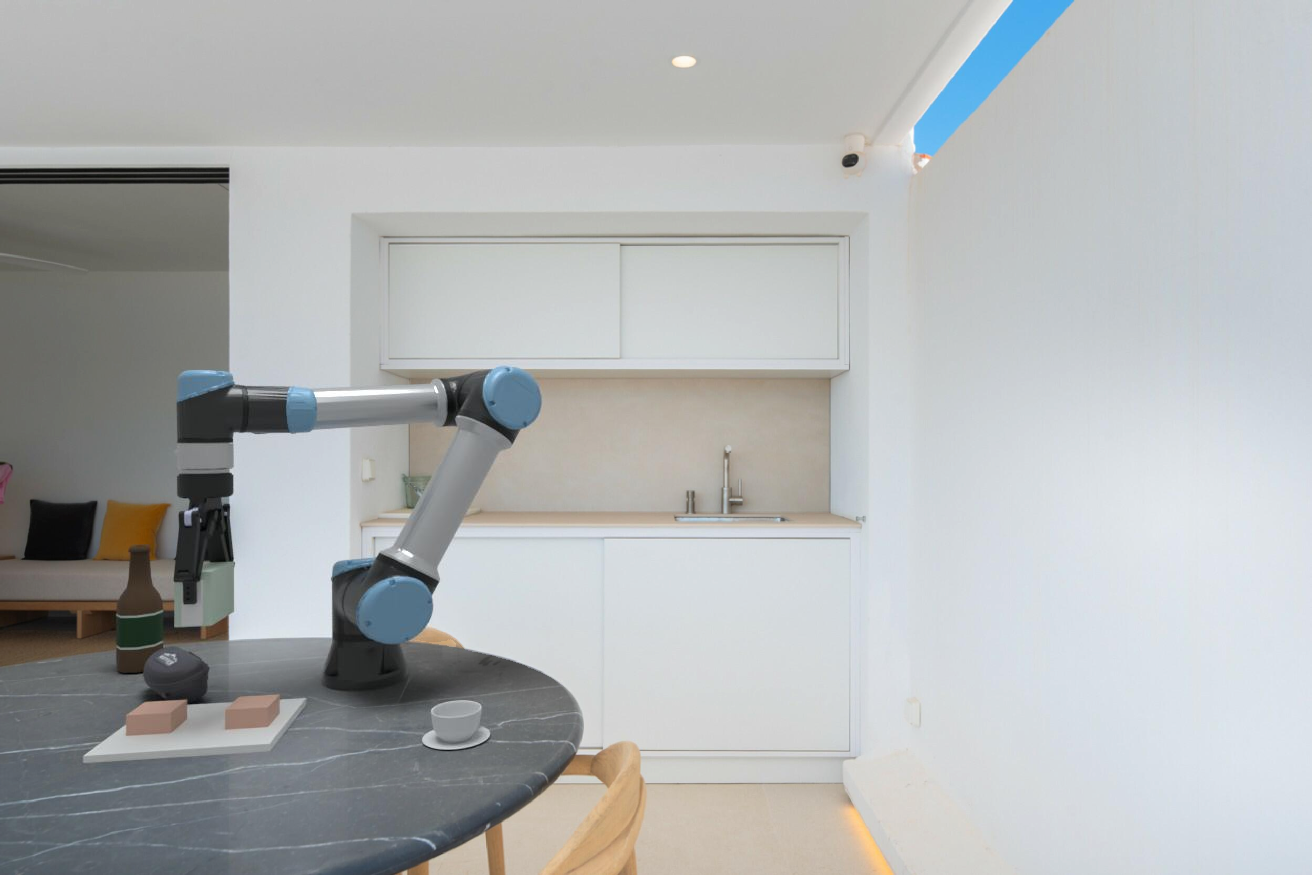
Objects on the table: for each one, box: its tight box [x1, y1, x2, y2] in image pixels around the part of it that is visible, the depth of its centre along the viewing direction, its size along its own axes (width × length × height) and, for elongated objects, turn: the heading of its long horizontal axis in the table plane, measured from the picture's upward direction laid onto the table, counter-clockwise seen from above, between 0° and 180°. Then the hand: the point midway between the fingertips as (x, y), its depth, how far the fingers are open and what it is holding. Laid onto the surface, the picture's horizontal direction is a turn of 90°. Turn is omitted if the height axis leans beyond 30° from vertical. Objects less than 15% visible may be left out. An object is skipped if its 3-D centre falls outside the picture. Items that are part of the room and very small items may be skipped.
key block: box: [173, 561, 235, 628], centre depth 120 cm, size 10×5×8 cm, turn 10°
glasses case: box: [142, 645, 211, 705], centre depth 136 cm, size 18×10×8 cm, turn 48°
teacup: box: [421, 699, 491, 751], centre depth 117 cm, size 10×10×5 cm
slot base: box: [82, 693, 307, 764], centre depth 120 cm, size 24×20×4 cm
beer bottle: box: [115, 544, 164, 674], centre depth 153 cm, size 8×8×24 cm
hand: (206, 617), depth 120 cm, fingers closed on key block, 9 cm apart
